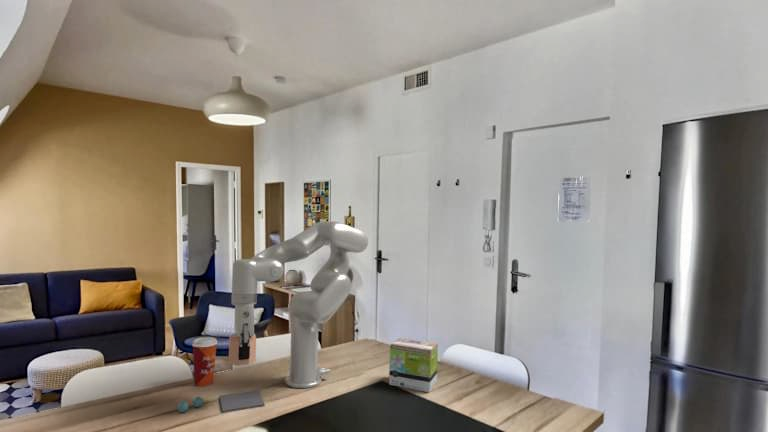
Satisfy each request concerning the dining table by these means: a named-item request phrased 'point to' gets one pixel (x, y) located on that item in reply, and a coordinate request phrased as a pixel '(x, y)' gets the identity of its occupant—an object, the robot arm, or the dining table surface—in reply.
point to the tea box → (413, 364)
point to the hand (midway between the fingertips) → (242, 355)
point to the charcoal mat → (241, 401)
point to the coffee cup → (204, 360)
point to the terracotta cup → (234, 350)
